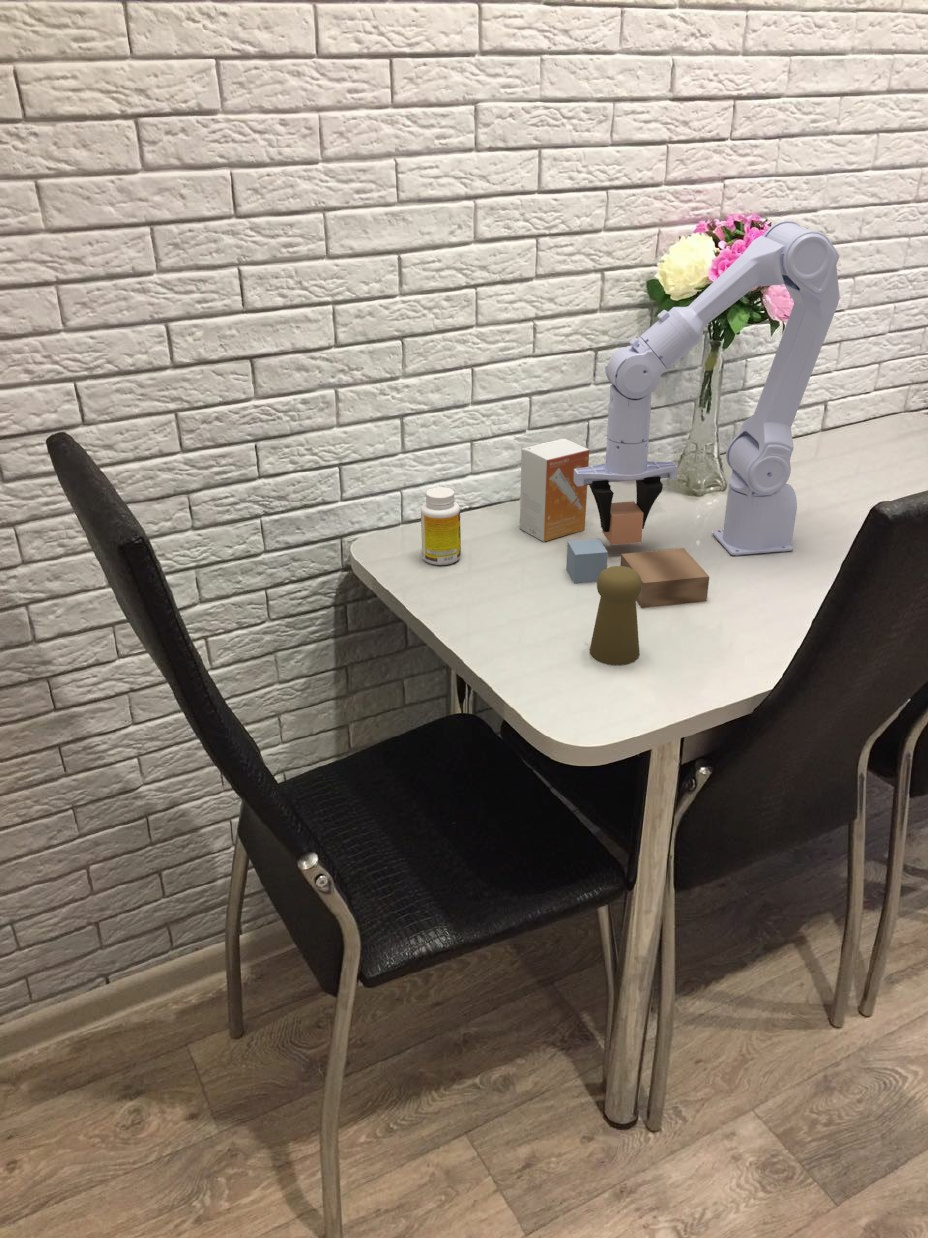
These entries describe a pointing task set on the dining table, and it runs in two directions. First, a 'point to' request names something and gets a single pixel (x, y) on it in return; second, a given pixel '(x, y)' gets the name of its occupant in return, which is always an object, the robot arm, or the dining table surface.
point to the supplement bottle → (440, 527)
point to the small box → (552, 489)
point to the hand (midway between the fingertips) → (622, 527)
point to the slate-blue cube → (585, 560)
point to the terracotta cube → (625, 523)
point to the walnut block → (668, 577)
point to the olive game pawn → (616, 617)
